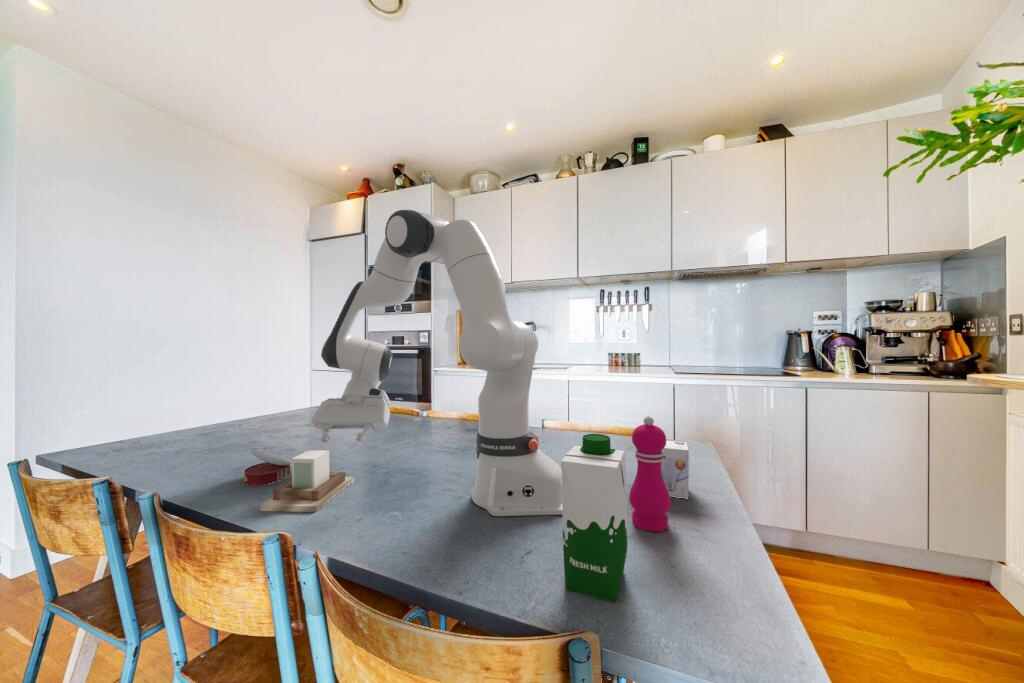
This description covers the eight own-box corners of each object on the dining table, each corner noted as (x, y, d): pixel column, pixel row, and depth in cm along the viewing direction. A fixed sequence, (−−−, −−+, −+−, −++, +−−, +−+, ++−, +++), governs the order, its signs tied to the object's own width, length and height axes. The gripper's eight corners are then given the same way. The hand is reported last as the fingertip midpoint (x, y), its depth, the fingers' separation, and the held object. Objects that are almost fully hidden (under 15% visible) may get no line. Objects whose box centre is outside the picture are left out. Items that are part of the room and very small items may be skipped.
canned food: (259, 492, 97) (267, 453, 102) (296, 488, 97) (303, 449, 101) (226, 487, 87) (237, 444, 92) (267, 483, 87) (276, 440, 91)
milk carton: (630, 569, 55) (629, 436, 55) (622, 610, 47) (621, 453, 47) (573, 556, 59) (571, 430, 59) (556, 592, 50) (554, 446, 50)
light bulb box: (637, 493, 82) (636, 445, 82) (638, 482, 89) (638, 437, 89) (690, 500, 78) (689, 449, 78) (688, 488, 85) (687, 441, 85)
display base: (354, 481, 91) (354, 468, 91) (316, 511, 75) (316, 496, 75) (307, 481, 92) (307, 468, 92) (259, 511, 76) (259, 495, 76)
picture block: (329, 484, 86) (329, 450, 86) (314, 495, 80) (313, 459, 80) (309, 484, 87) (308, 450, 87) (291, 495, 80) (291, 458, 80)
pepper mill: (651, 537, 64) (650, 422, 64) (621, 520, 70) (619, 415, 70) (679, 527, 67) (678, 417, 67) (648, 511, 74) (647, 411, 73)
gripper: (319, 392, 104) (297, 435, 94) (390, 390, 103) (375, 434, 93) (328, 405, 109) (308, 447, 99) (396, 404, 107) (383, 447, 98)
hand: (342, 441), depth 96 cm, fingers open, 8 cm apart
